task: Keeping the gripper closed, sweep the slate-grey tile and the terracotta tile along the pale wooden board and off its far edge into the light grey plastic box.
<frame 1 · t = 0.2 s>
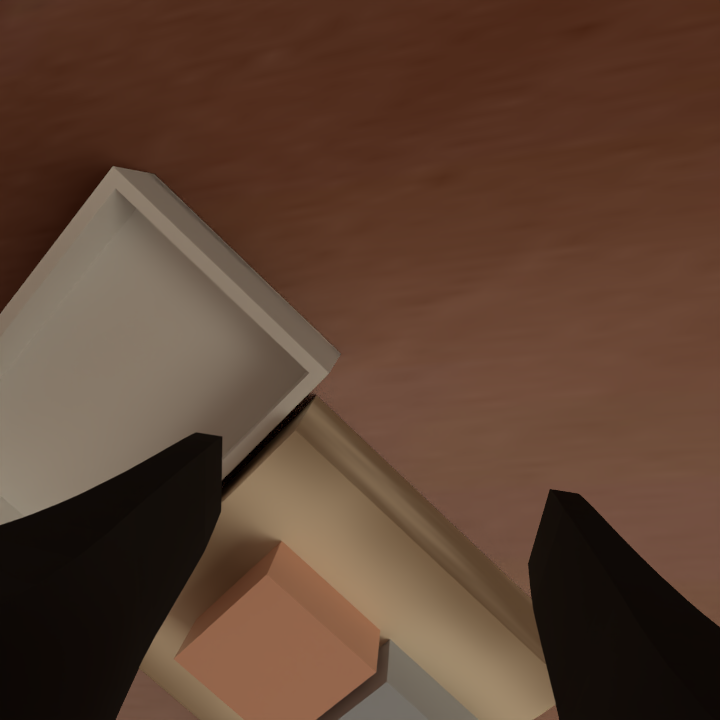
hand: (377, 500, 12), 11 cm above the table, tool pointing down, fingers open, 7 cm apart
board: (339, 592, 25), on the table
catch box: (129, 400, 24), on the table
terracotta tile: (286, 624, 21), point 4 cm above the table, touching board
slate tile: (390, 717, 22), point 4 cm above the table, touching board
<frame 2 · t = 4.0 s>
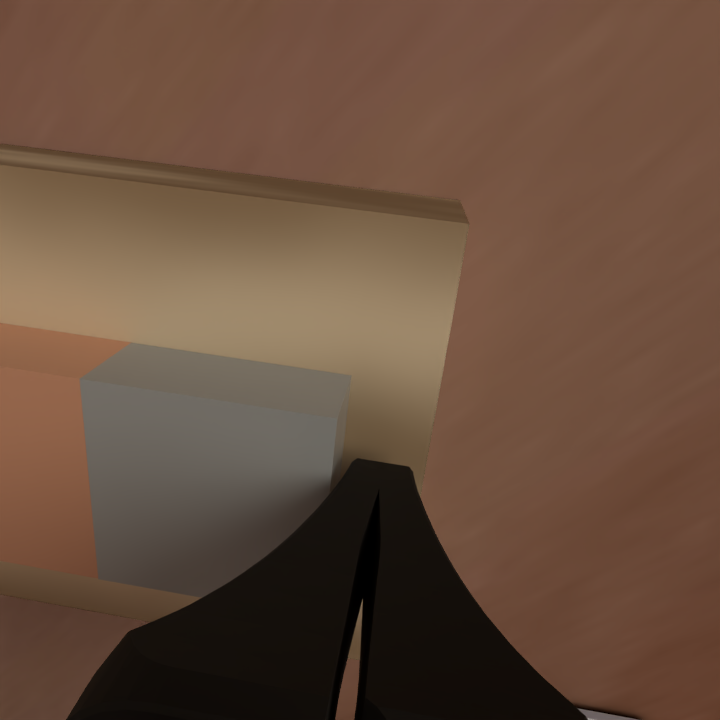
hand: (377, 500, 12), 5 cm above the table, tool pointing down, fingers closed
board: (198, 372, 17), on the table
terracotta tile: (38, 422, 14), point 4 cm above the table, touching slate tile
slate tile: (237, 455, 13), point 4 cm above the table, touching gripper, terracotta tile
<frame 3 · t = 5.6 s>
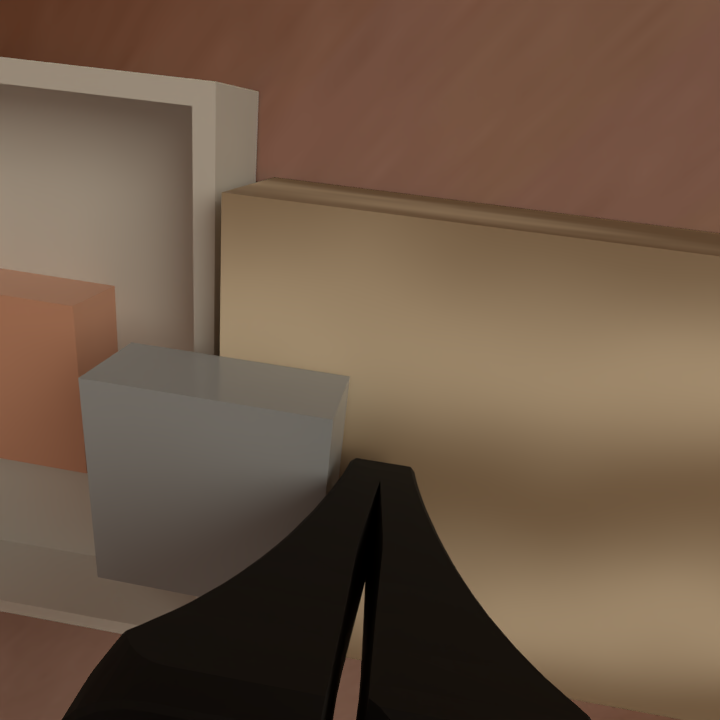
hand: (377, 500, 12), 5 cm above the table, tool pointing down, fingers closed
board: (495, 417, 17), on the table
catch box: (92, 356, 17), on the table
slate tile: (236, 455, 13), point 4 cm above the table
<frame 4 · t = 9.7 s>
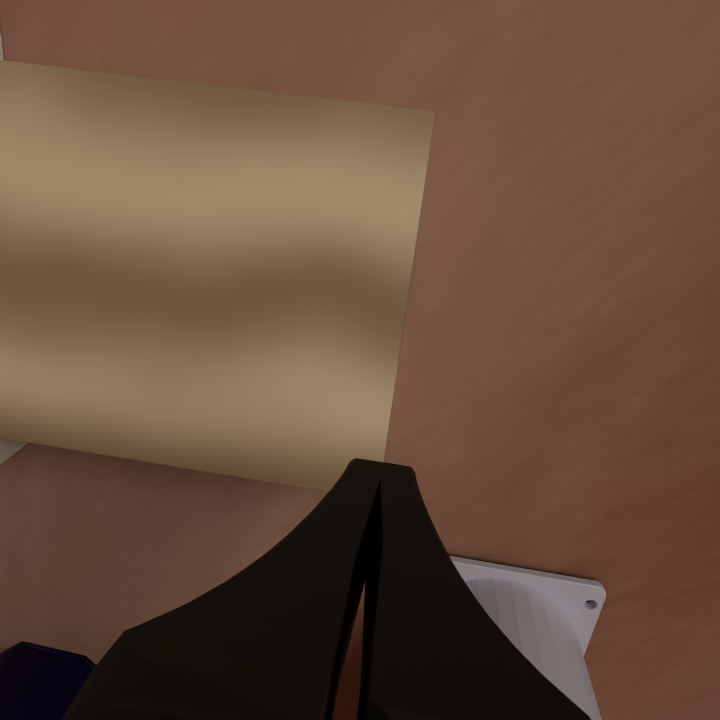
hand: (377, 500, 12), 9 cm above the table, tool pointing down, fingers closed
bottle: (59, 699, 31), on the table
board: (219, 269, 21), on the table
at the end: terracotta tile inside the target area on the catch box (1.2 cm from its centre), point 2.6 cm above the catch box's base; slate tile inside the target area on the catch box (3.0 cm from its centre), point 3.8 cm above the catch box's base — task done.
